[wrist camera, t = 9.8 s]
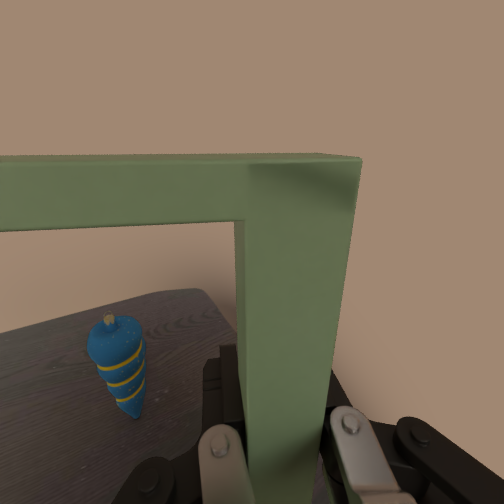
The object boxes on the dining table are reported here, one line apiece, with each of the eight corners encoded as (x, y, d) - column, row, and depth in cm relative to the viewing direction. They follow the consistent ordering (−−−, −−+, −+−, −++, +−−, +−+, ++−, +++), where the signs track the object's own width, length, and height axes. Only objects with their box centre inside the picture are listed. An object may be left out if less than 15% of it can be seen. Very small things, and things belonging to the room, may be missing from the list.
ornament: (166, 418, 31) (147, 311, 25) (120, 451, 28) (87, 337, 22) (147, 390, 34) (126, 290, 29) (104, 417, 31) (71, 310, 25)
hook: (301, 484, 16) (340, 151, 9) (338, 621, 11) (485, 160, 4) (48, 533, 14) (-171, 154, 7) (-29, 723, 9) (-957, 180, 2)
